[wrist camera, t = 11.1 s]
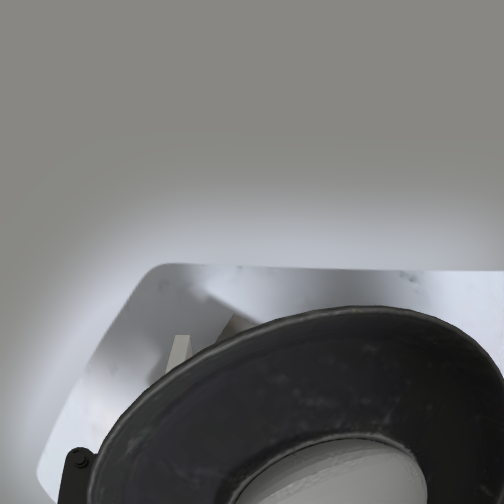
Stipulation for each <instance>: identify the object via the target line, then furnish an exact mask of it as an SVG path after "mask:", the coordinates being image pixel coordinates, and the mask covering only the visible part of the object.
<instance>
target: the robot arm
mask: <svg viewBox="0 0 504 504" xmlns="http://www.w3.org/2000/svg"><path fill="white" fill-rule="evenodd" d="M192 356H193V351H192V345H191V338H190V335H175V338H174V342H173V345H172V349H171V353H170V356H169V360H168V364H167V367H166V371H165V374H166V373H168V372H169V371H170V370H171V369H172V368H174V367H176V366H177V365H179V364H181V363H182V362H184V361H185V360H187V359H189V358H190V357H192ZM96 456H97V454H93V453H92V452H91V451H90V450H89V449H87V448H84V447H77V448H74V449H72V450H71V451H70V452H69V453H68V454H67V456H66V460H65V464H64V469H63V474H62V479H61V484H60V490H59V496H58V503H57V504H87V487H88V482H89V478H90V474H91V469H92V465H93V463H94V460H95V458H96ZM500 504H504V495H503V498H502V500H501V502H500Z"/></svg>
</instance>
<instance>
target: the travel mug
mask: <svg viewBox="0 0 504 504" xmlns="http://www.w3.org/2000/svg"><path fill="white" fill-rule="evenodd" d="M503 495H504V378H503V376H502V374H501V372H500V370H499V368H498V367H497V365H496V364H495V362H494V361H493V360H492V358H491V357H490V355H489V354H488V353H487V352H486V351H485V350H484V349H483V348H482V347H481V346H480V345H479V344H478V343H477V342H476V341H475V340H474V339H473V338H472V337H470V336H469V335H467V334H466V333H465V332H463V331H462V330H460V329H459V328H457V327H456V326H453V325H451V324H449V323H447V322H445V321H443V320H441V319H439V318H437V317H434V316H430V315H427V314H423V313H420V312H416V311H413V310H410V309H403V308H395V307H388V306H343V307H335V308H327V309H318V310H312V311H308V312H304V313H300V314H296V315H291V316H287V317H283V318H278V319H275V320H272V321H269V322H267V323H264V324H261V325H258V326H255V327H252V328H249V329H247V330H244V331H241V332H238V333H236V334H234V335H232V336H230V337H228V338H226V339H224V340H222V341H220V342H218V343H215V344H213V345H211V346H209V347H207V348H205V349H203V350H202V351H200V352H198V353H197V354H195V355H194V356H192V357H190V358H189V359H187V360H185V361H184V362H182V363H181V364H179V365H177V366H176V367H174V368H172V369H171V370H170V371H169V372H168V373H166V374H165V375H164V376H163V377H161V378H160V379H159V380H158V381H156V382H155V383H154V384H152V385H151V386H150V387H149V388H147V389H146V390H145V391H144V392H143V393H142V394H141V395H140V396H139V397H138V398H137V399H136V400H135V401H134V402H133V403H132V404H131V405H130V406H129V407H128V409H127V410H126V411H125V412H124V413H123V414H122V415H121V416H120V417H119V419H118V420H117V422H116V423H115V424H114V426H113V427H112V429H111V430H110V432H109V433H108V435H107V436H106V437H105V439H104V440H103V443H102V445H101V447H100V449H99V451H98V454H97V456H96V458H95V460H94V463H93V465H92V469H91V474H90V478H89V482H88V487H87V504H500V502H501V500H502V498H503Z"/></svg>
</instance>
